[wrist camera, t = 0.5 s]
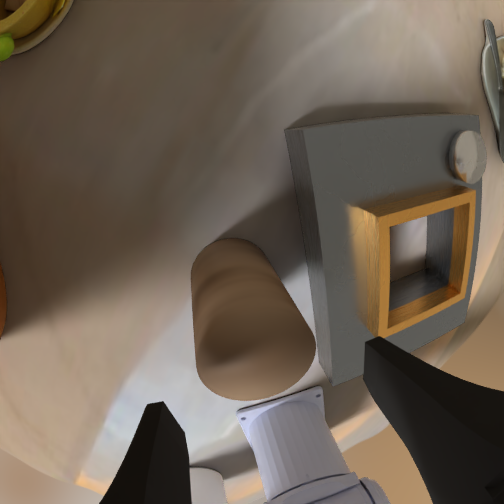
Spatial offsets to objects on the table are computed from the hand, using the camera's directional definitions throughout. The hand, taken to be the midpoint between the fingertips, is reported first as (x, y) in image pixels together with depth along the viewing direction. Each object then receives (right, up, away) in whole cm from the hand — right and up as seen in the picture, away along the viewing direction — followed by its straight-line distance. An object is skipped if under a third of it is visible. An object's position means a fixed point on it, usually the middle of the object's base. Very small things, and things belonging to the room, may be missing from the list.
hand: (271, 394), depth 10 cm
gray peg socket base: (+10, +6, +11) cm, 16 cm away
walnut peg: (-2, +3, +10) cm, 10 cm away
